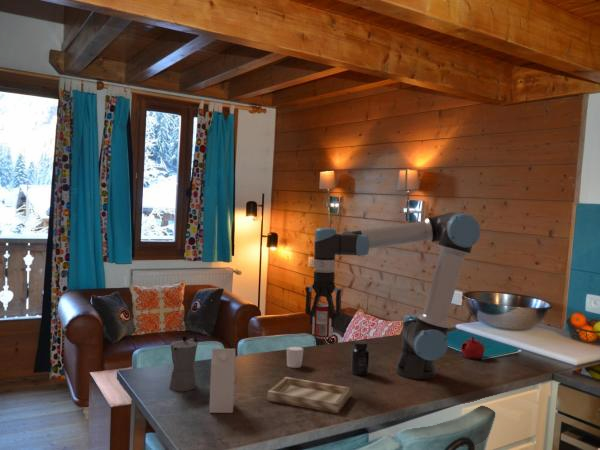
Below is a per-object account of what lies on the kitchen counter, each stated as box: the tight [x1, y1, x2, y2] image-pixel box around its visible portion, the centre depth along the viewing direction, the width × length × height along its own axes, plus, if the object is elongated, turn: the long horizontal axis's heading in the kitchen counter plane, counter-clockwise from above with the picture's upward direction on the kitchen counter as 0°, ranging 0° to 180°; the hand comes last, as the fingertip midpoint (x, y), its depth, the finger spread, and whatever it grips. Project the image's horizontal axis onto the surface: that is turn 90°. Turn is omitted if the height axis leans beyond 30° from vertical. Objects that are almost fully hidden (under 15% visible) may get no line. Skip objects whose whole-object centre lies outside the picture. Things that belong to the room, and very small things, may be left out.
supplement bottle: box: [350, 340, 370, 376], centre depth 206 cm, size 7×7×12 cm
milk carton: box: [208, 348, 236, 414], centre depth 165 cm, size 7×7×19 cm
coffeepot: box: [169, 334, 199, 392], centre depth 184 cm, size 15×9×18 cm, turn 162°
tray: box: [266, 376, 352, 414], centre depth 178 cm, size 24×16×3 cm, turn 70°
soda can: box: [314, 303, 331, 339], centre depth 193 cm, size 6×6×12 cm
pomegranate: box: [460, 336, 485, 360], centre depth 234 cm, size 10×10×9 cm
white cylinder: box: [285, 345, 304, 369], centre depth 212 cm, size 7×7×7 cm
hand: (322, 334), depth 193 cm, fingers closed on soda can, 5 cm apart
